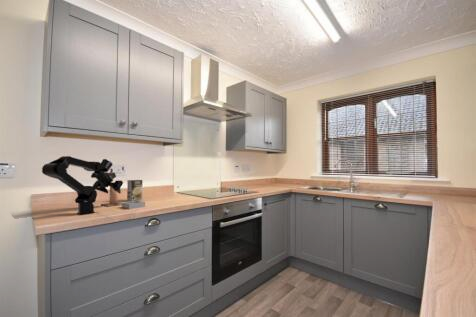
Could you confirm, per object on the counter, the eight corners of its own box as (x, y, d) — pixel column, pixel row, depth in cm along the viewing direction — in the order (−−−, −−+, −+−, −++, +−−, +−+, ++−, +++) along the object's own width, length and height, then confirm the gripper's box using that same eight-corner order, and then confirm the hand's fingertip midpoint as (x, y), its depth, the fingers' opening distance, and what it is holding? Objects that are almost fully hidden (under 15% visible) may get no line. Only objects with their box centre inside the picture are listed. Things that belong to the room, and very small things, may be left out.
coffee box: (131, 201, 168) (132, 180, 169) (126, 201, 172) (126, 180, 172) (142, 200, 176) (142, 179, 177) (137, 199, 180) (137, 179, 180)
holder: (129, 210, 134) (129, 204, 134) (122, 208, 141) (122, 202, 141) (145, 208, 142) (145, 201, 142) (137, 206, 148) (137, 200, 148)
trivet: (107, 208, 143) (107, 206, 143) (100, 206, 150) (100, 204, 150) (126, 205, 152) (126, 203, 152) (119, 203, 159) (119, 201, 159)
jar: (116, 204, 149) (117, 184, 149) (107, 204, 148) (108, 185, 148) (119, 203, 154) (120, 184, 155) (110, 203, 153) (111, 184, 154)
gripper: (121, 168, 145) (131, 183, 156) (96, 168, 148) (107, 183, 158) (112, 181, 137) (124, 196, 148) (86, 181, 140) (99, 196, 150)
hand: (114, 192), depth 151 cm, fingers open, 9 cm apart
